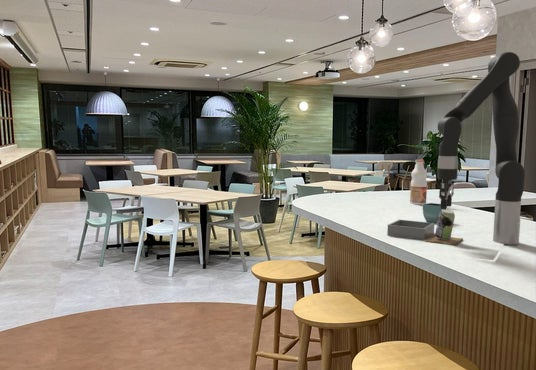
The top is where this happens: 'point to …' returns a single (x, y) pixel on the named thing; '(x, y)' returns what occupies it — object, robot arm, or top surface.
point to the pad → (450, 241)
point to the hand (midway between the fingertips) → (446, 207)
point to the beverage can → (445, 224)
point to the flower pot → (431, 212)
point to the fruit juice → (418, 184)
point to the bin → (411, 229)
